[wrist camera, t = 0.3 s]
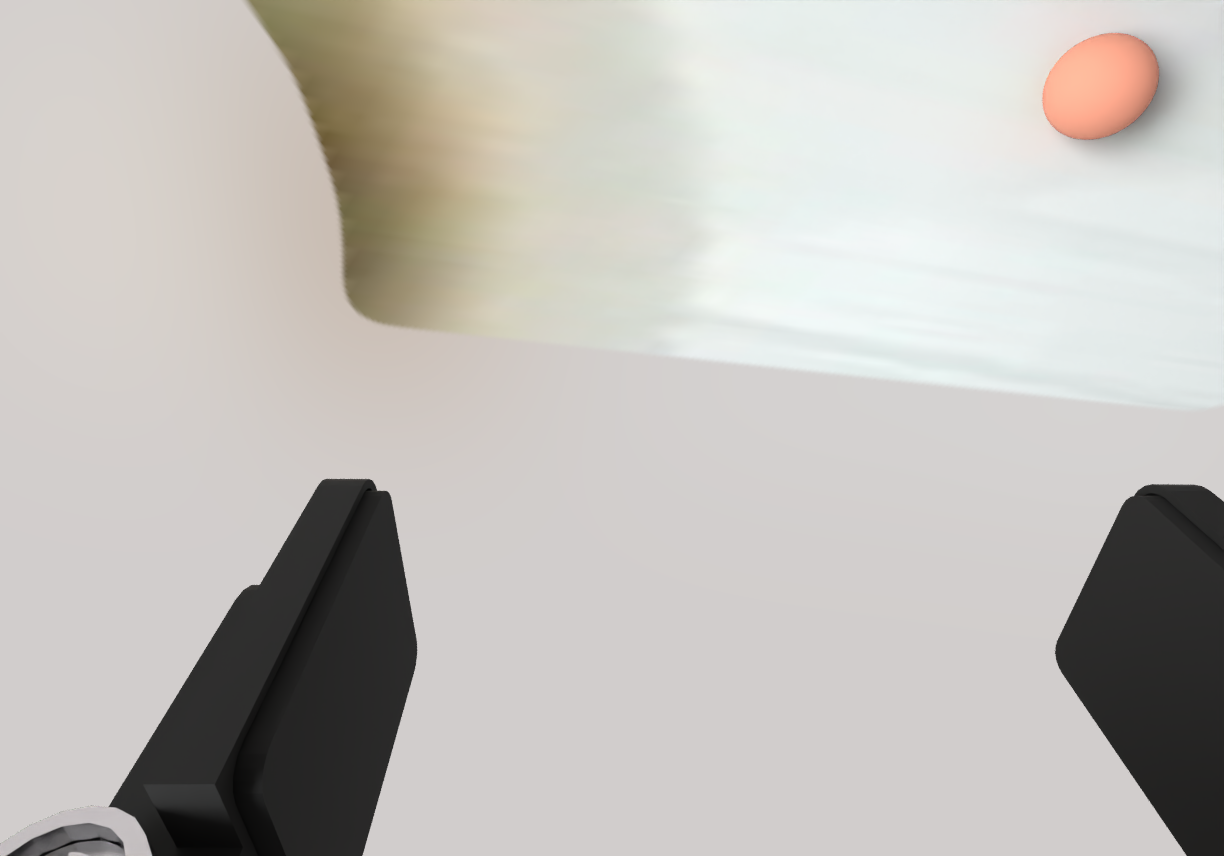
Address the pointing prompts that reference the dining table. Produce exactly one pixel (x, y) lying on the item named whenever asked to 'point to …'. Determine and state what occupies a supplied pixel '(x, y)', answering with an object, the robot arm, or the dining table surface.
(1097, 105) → the ball
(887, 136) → the dining table surface
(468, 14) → the dining table surface
